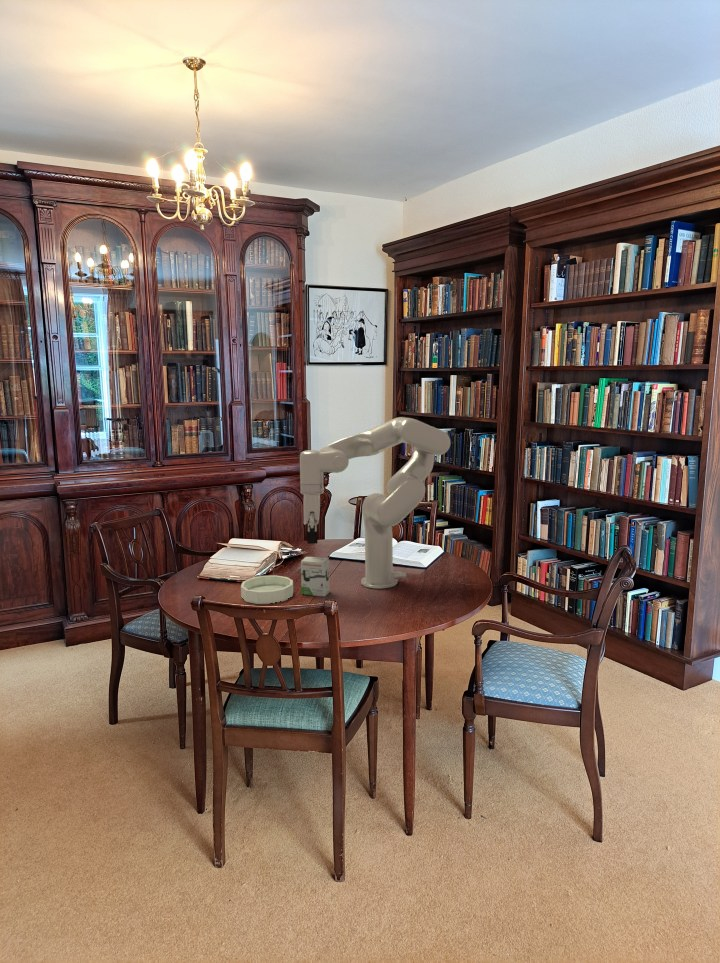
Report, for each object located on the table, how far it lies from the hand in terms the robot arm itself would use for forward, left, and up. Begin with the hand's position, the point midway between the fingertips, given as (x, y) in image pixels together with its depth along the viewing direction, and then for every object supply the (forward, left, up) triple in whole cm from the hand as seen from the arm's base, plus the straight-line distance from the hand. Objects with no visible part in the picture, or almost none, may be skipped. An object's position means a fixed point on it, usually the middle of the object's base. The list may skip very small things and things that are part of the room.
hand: (312, 539), depth 212 cm
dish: (+16, 0, -19) cm, 24 cm away
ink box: (0, 0, -19) cm, 19 cm away
